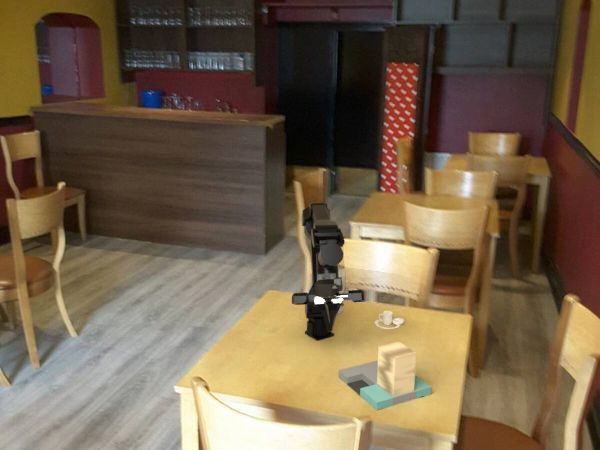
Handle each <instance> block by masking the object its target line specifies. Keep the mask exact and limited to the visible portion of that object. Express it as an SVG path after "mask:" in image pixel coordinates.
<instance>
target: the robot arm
mask: <svg viewBox="0 0 600 450" xmlns="http://www.w3.org/2000/svg"><path fill="white" fill-rule="evenodd" d="M301 213H302V214H301V226H302V227H303V231H304V232H303V233H304V235H305V236H306V237H307V238H308V240H309V246H310V249H309V250H310V265H311V267H310V268H311V281H312V284H311V287H310V289H309V290H308V292H293V294H292V296H291V304H292V305H295V306H304V314H305V318H306V319H308V320H307V321H306V330H305V331H304V334H305V335H307V336H308V337H310V338H312V339H314V340H316V341H320V340H324V339H328V338H330V337H333V336H335V333H334V332H332V331H333V329H334V325H335V322H336V318H337V316H338V314H337V313H338V311H339V309H340V307H341V306H343V307H344V306H345V304H344V302H345V301H352V302H353V303H363V302H364V303H365V302H366V293H365V291H363V289H352V290H351V289H350V290H348V292H346V293H345V292H344V293H342V294H340V293H339V291H342V289H343V284H342V277H339V272H338V264H341V262H342V261H343V259H344V251H343V249H342V248H343V247H344V245H345V237H344V234H343V231H342V229H341V228H340V227H339V225H338V224H337V223H338V222H336V221H333V220H331V209H330V208H329V207H328V203H327V202H323V201H322V202H311V203H309V206H307V207H306V208H304V209H303V210H302V212H301ZM334 295H336V296H334Z"/></svg>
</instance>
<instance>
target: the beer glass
mask: <svg viewBox="0 0 600 450" xmlns="http://www.w3.org/2000/svg"><path fill="white" fill-rule="evenodd" d="M338 272H339V277H342V284H343V289H342V291H339V293H340V294H342V293H345V287H346V282H347V281H346V277H347V276H346V266H345V265H343V264H341V263H339V264H338ZM334 296H336V295H334ZM342 313H344V306H341V307H340V309H339V311H338V313H337V315H339V314H342Z"/></svg>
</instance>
